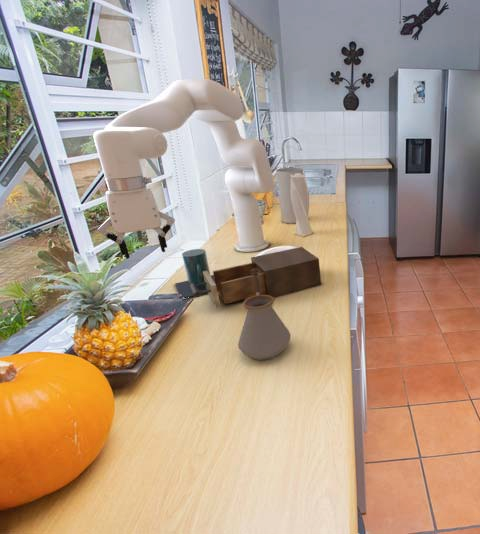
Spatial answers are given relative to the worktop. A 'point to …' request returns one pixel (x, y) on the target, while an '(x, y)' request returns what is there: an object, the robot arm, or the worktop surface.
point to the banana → (275, 250)
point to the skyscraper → (300, 203)
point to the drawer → (231, 284)
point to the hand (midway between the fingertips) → (145, 253)
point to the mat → (188, 289)
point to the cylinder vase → (286, 193)
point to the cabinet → (288, 271)
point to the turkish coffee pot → (262, 327)
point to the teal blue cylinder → (196, 266)
